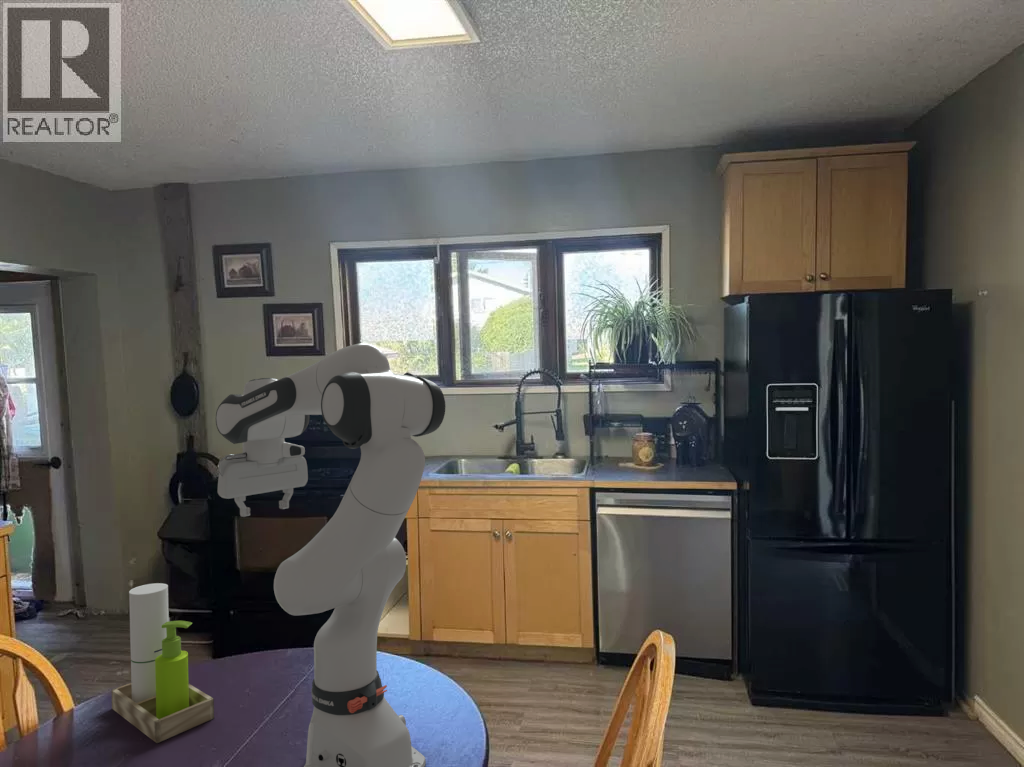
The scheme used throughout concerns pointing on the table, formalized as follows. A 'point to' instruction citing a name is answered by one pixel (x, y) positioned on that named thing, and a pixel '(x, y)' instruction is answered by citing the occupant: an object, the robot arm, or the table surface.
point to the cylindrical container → (146, 636)
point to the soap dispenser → (172, 673)
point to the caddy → (167, 726)
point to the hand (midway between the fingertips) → (265, 512)
